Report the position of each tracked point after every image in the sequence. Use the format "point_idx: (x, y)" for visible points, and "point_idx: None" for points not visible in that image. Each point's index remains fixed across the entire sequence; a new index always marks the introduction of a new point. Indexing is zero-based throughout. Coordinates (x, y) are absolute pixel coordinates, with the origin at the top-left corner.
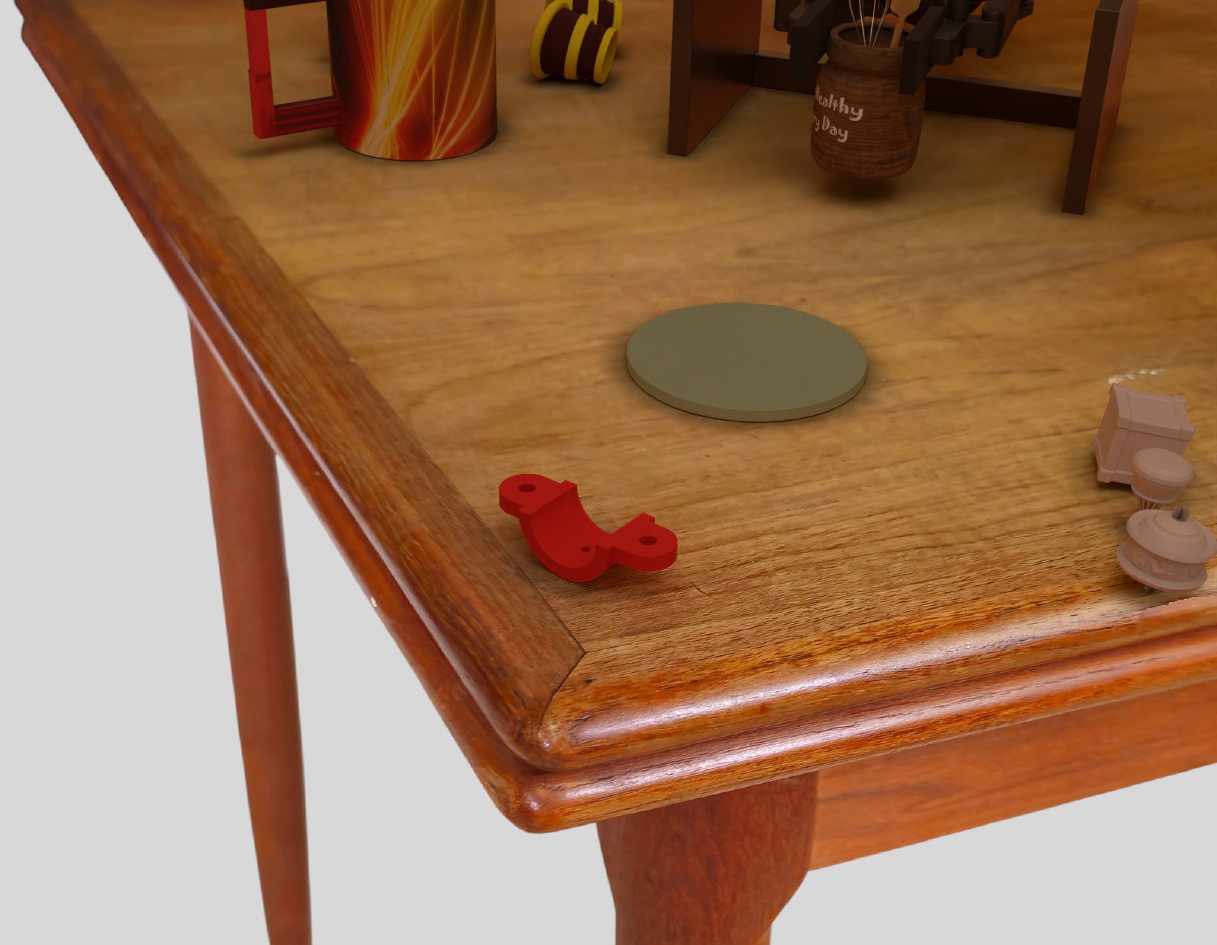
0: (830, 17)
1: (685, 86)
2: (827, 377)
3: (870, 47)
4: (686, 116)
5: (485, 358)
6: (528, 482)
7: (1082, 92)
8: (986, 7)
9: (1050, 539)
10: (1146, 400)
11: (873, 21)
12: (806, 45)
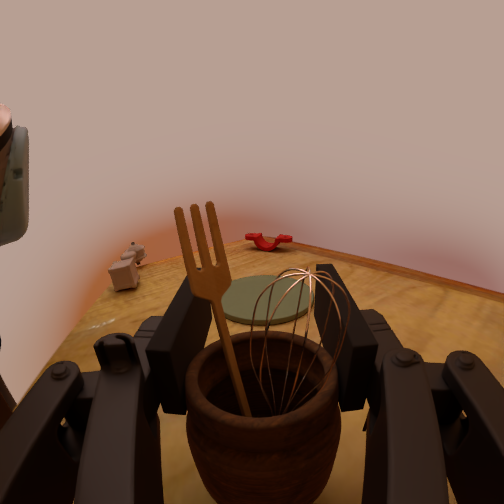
0: (341, 350)
1: None
2: (227, 291)
3: (256, 331)
4: None
5: (353, 281)
6: (286, 237)
7: (10, 410)
8: (69, 377)
9: (158, 269)
10: (121, 265)
11: (287, 419)
12: (317, 288)
